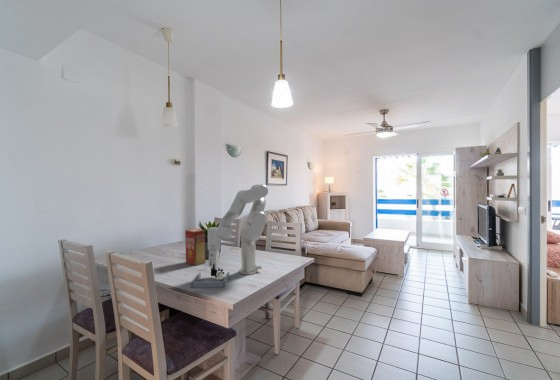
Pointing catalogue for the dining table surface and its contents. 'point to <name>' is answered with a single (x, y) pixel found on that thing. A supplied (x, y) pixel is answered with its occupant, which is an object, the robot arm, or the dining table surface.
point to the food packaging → (195, 246)
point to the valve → (219, 275)
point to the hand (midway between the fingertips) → (213, 275)
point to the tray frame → (208, 282)
